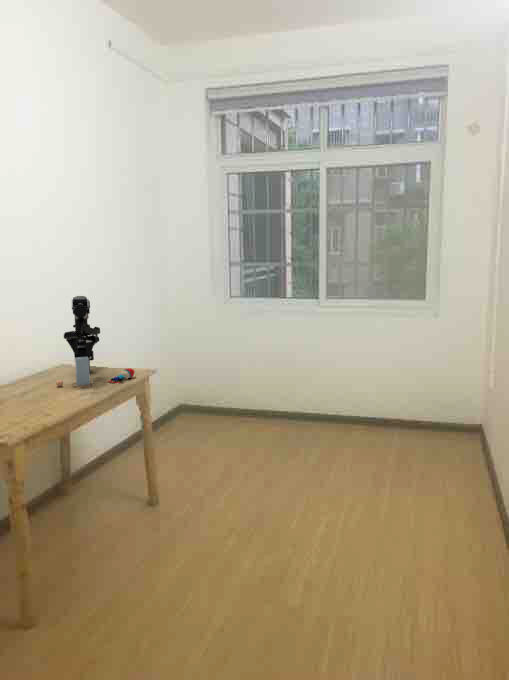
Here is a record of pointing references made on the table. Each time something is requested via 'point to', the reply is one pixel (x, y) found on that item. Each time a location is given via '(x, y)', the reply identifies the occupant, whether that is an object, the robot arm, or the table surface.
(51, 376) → the table surface
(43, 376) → the table surface
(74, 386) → the coaster
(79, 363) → the pale blue box
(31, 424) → the table surface
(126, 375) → the toy figure
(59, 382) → the ball
